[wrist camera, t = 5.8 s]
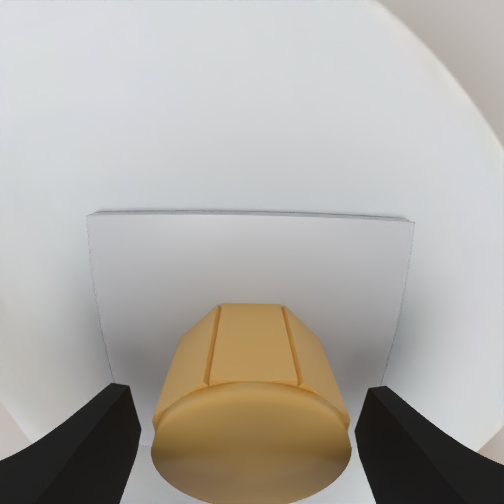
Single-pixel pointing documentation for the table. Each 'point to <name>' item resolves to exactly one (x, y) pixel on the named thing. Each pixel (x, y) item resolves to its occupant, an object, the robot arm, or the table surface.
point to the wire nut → (250, 410)
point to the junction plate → (247, 287)
